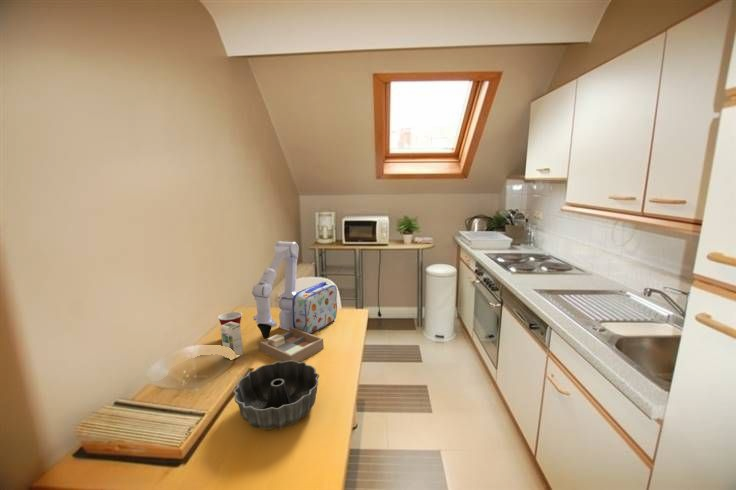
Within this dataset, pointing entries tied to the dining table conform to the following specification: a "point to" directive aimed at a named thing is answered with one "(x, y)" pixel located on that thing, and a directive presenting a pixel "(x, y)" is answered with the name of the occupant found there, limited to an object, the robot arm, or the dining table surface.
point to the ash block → (276, 340)
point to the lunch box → (314, 307)
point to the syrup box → (232, 337)
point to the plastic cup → (230, 317)
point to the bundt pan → (277, 394)
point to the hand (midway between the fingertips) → (266, 338)
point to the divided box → (293, 346)
